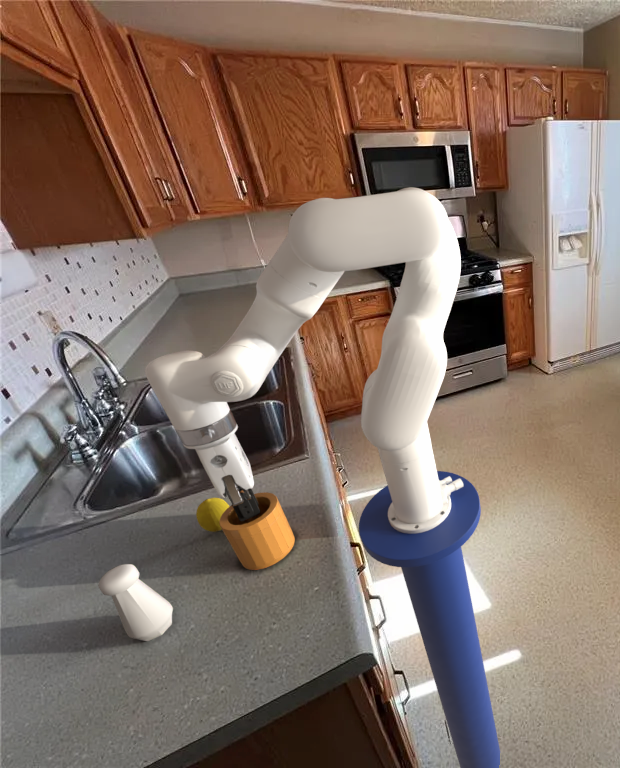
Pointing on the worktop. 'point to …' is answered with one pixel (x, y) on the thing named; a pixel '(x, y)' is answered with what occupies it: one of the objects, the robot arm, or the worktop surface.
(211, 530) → the lemon
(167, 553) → the worktop surface
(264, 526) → the jar
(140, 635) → the salt shaker
